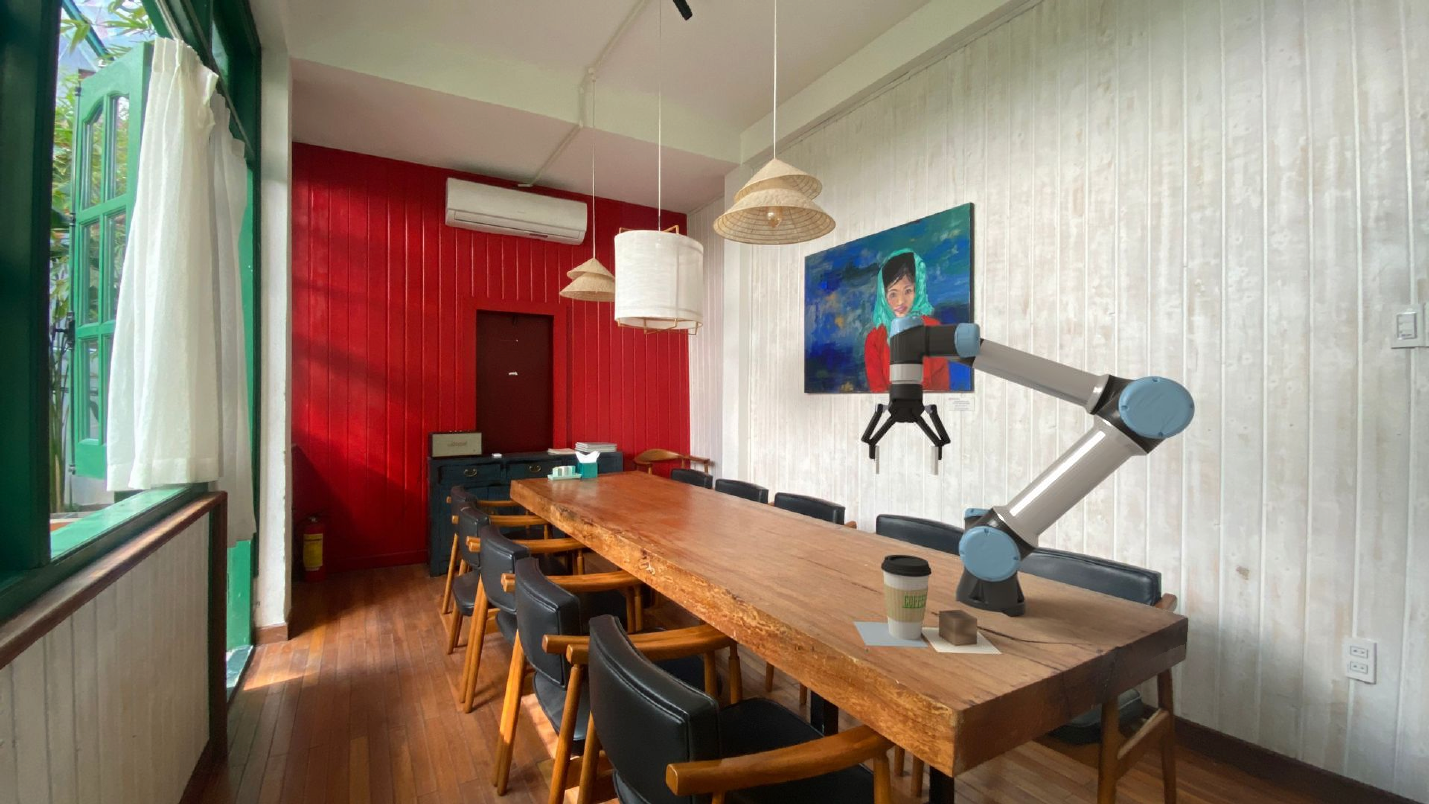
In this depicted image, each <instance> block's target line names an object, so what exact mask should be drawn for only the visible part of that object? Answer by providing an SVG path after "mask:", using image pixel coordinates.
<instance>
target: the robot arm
mask: <svg viewBox="0 0 1429 804" xmlns="http://www.w3.org/2000/svg"><path fill="white" fill-rule="evenodd" d="M889 333H890V336H889V337H888V338H889V382H890V385H889V388H888V390H889V391H888V392H889V394H888V398H889V399H888V400H889V401H888V404H883V403H876V404H875V405H874V413H873V416H872V417H871V419H870V421H869V422H868V424H867V426H866V429H865V430H864V431H863V435H862V436H861V439H860V441H861V442H862V443H865V444H867V445H868V457H869V459H870V460H872V473H873V474H875V475H879V474H880V445H877V444H879V441H880V440H881V439H882V438H883V437H885V435H886V433H887V432H888V431H889V430H890V429H891V428H892V427H893V426H894V425H895V424H896V423H898V424H904V423H907V424H916V425H918V427H919V428H920V429H921V431H922V432H923V433H924V434H925V435H926V436H927V438H928V439H929V440H930V442H931V443H932V444H934V445H931V446H930V474H932V475H935V476H939V461H942V460H943V447H944V446H945V445H949V444H951V441H952V440H951V438H950V436H949V434H948V432H947V430H946V428H945V426H944V424H943V422H942V419H941V418H940V416H939V415H940V414H938V413H939V412H938V406H937V404H935V403H934V404H933V403H930V404H928V405H927V404H926V405H925V404H924V385H923V384H921V383H922V382H924V358H931V359H932V358H945V360H947V361H949V362H952V363H953V364H954V363H955V364H958V365H959V364H960V365H963V366H965V367H969V368H971V369H974V370H978V371H980V372H984V373H986V374H989V375H992V376H995V377H997V378H1000V379H1003V380H1006V381H1009V382H1012V383H1013V384H1017V385H1019V386H1020V385H1021V386H1023V387H1026V388H1028V389H1031V390H1034V391H1037V392H1040V393H1043V394H1045V395H1048V396H1051V397H1054V398H1057V399H1059V400H1063V401H1066V402H1069V403H1071V404H1073V405H1074V404H1075V405H1077V406H1079V407H1082V408H1083V409H1084V410H1085V412H1086V413H1087V414H1088V415H1091V416H1093V425H1092V427H1091V428H1090V429H1089V430H1088V431H1087V432H1086V433H1085V434H1084V435H1082V437H1080V438H1079V439H1078V440H1077V441H1076V442H1075V443H1073V444H1072V445H1071V446H1070V447H1068V449H1067V450H1066V451H1064V452H1063V453H1062V454H1061V455H1060V456H1059V457H1058V458H1057V459H1056V460H1054V461H1053V462H1052V463H1050V465H1048V467H1047V468H1046V469H1045V470H1043V471H1042V472H1041V473H1040V474H1039V475H1038V476H1036V478H1035V479H1033V481H1031V482H1030V483H1029V484H1028V485H1027V486H1025V487H1024V488H1023V490H1021V491H1020V492H1019V493H1018V494H1017V495H1016V496H1015V497H1014V498H1012V499H1011V500H1010V501H1009V502H1007V504H1006V505H992V506H991V508H989V509H987V508H977V507H968V508H966V509H965V511H964V512H965V513H964V516H963V521H964V531H963V534H962V536H961V538H960V539H959V543H958V554H959V557H960V560H961V563H962V564H963V571H962V573H961V577H960V578H959V581H958V584H957V587H956V590H955V602H960V603H961V604H964V605H965V606H968V607H970V608H974V609H978V610H983V611H987V612H991V613H992V612H993V613H994V612H995V613H1002V614H1004V615H1006V616H1007V617H1015V616H1021V615H1022V614H1024V613H1025V612H1026V604H1027V603H1026V598H1025V596H1024V591H1023V589H1022V587H1021V583H1020V580H1019V575H1018V574H1019V571H1018V570H1019V567H1020V565H1021V563H1022V562H1023V561H1024V560H1025V559H1027V558H1028V557H1029V556H1030V555H1031V554H1033V553H1034V551H1036V550H1037V549H1038V548H1039V538H1040V537H1039V536H1040V535H1042V534H1043V533H1044V532H1046V531H1047V530H1048V529H1049V528H1050V527H1051V526H1052V525H1054V524H1055V523H1056V522H1057V521H1058V520H1059V519H1061V518H1062V517H1063V516H1064V515H1065V514H1067V513H1068V512H1069V511H1070V510H1071V509H1072V508H1073V507H1075V506H1076V505H1077V504H1078V503H1079V502H1080V501H1082V500H1083V499H1084V498H1085V497H1086V496H1087V495H1088V494H1090V493H1091V492H1092V491H1093V490H1094V489H1095V488H1097V487H1098V486H1099V485H1100V484H1101V483H1102V482H1104V481H1105V480H1106V479H1107V478H1109V476H1111V475H1112V474H1113V473H1114V472H1115V471H1116V470H1118V469H1119V468H1120V467H1121V466H1122V465H1124V464H1125V463H1126V462H1127V461H1128V460H1129V459H1131V458H1132V457H1135V456H1138V457H1139V456H1144V457H1145V456H1148V455H1150V453H1151V452H1152V451H1154V450H1155V449H1156V448H1157V447H1158V446H1159V445H1161V444H1162V443H1163V442H1164V441H1165V440H1166V439H1168V438H1170V439H1171V438H1173V437H1175V436H1177V435H1179V434H1180V433H1182V432H1183V431H1184V430H1186V429H1187V428H1188V426H1189V425H1190V424H1191V423H1192V421H1193V418H1194V417H1195V413H1196V412H1195V411H1196V409H1195V406H1196V405H1195V402H1194V401H1195V400H1194V399H1193V395H1191V393H1190V392H1189V390H1188V389H1187V388H1186V387H1185V386H1183V385H1182V384H1181V383H1179V382H1177V381H1175V380H1173V379H1170V378H1167V377H1163V376H1156V375H1155V376H1152V375H1150V376H1143V377H1141V378H1137V379H1131V378H1124V377H1120V376H1115V375H1113V374H1109V373H1104V374H1102V375H1097V374H1094V373H1090V372H1087V371H1085V370H1082V369H1078V368H1075V367H1073V366H1069V365H1066V364H1063V363H1059V362H1057V361H1054V360H1051V359H1048V358H1044V357H1041V356H1039V355H1036V354H1032V353H1029V352H1026V351H1023V350H1019V349H1017V348H1014V347H1011V346H1007V345H1004V344H1002V343H998V342H995V341H992V340H989V339H986V338H982V337H981V327H980V325H979V324H978V323H969V322H968V323H966V322H961V323H951V324H950V323H949V324H925V320H924V318H923V317H921V316H909V315H908V316H899V317H896V318H894V319H892V320H891V322H890V332H889ZM886 411H887V412H888V413H889V415H890V416H889V417H888V418H887V419H886V421H885V422H884V423H883V424H882V425H881V426H880V427H879V429H878V430H877V431H876V432H875V429H876V427H877V426H878V424H879V422H880V420H881V417H882V415H883V414H885V413H886ZM924 412H926V414H928V415H929V418H930V420H931V422H932V425H933V427H934V429H935V430H936V432H937V434H938V435H937V434H936V433H935V432H934V430H933V429H932V428H931V427H930V426H929V424H928V423H927V422H926V419H925V418H924V417H923V416H922V415H923V413H924ZM874 432H875V433H874ZM873 433H874V434H873ZM872 435H873V436H872Z"/></svg>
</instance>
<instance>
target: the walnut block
mask: <svg viewBox="0 0 1429 804" xmlns="http://www.w3.org/2000/svg"><path fill="white" fill-rule="evenodd" d="M938 628H939V636H940V637H941V638H943V639H944V640H946V641H948V642H949V643H951V644H952V645H954V646H961V645H972V644H977V631H978V618H977V617H975V616H973V615H971V614H970V613H969V612H966V611H964V610H962V609H952V610H950V609H949V610H948V609H947V610H939V611H938Z"/></svg>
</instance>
